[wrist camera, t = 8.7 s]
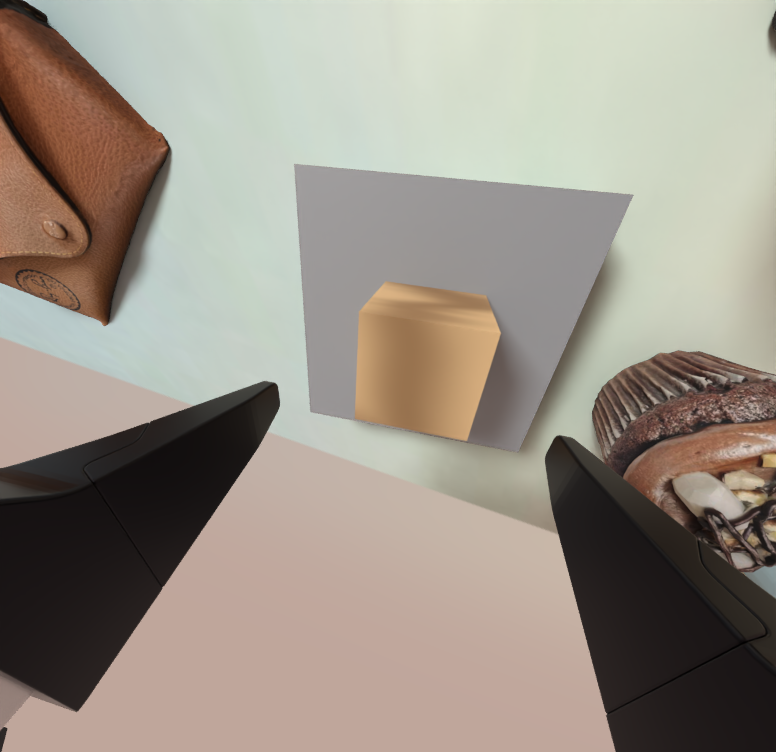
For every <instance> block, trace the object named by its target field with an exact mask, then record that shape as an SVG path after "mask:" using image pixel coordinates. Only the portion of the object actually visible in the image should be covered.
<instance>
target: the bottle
mask: <svg viewBox="0 0 776 752" xmlns="http://www.w3.org/2000/svg"><path fill="white" fill-rule="evenodd" d="M743 573H744V574H745V575H746V576H747V577H748V578H749V579H750V580H752V581H753V582H754V583H756V584H757V585H758V586H760V587H761V588H762V589H764V590H765V591H767V592H768V593H769V594H771V595H772V596H773V597H775V598H776V566H773V567H770V568H769V567H766V566H764V567H762V568H760V569H758V570H756V571H755V572H753V573H750V572H743Z"/></svg>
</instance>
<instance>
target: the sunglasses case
mask: <svg viewBox="0 0 776 752" xmlns="http://www.w3.org/2000/svg"><path fill="white" fill-rule="evenodd" d="M169 148H170V147H169V145H168V143H167V141H166V139H165V137H164V136H163V134H162V133H160V132H158V131H156V130H155V128H154V127H152V126H150V125H149V124H148V123H147V122H146V121H145V120H144V119H143V118H142V117H141V116H140V115H139V114H138V113H137V112H136V110H134V109H133V108H132V106H131V105H130V104H129V103H128V102H127V101H126V100H125V99H124V98H123V97H122V96H121V95H120V94H119V93H118V92H117V91H116V90H115V89H114V88H113V87H112V86H111V85H110V84H109V83H108V82H107V81H106V80H105V79H104V78H103V77H102V76H101V75H100V74H99V73H98V71H97V70H95V69H94V68H93V67H92V66H91V65H90V64H89V63H88V62H87V60H86V59H85V58H83V57H82V56H81V55H80V53H79V52H77V51H76V50H75V49H74V48H73V47H72V46H71V45H70V44H69V42H68V41H67V40H66V39H65V38H64V37H63V36H61V35H60V34H59V33H58V32H57V31H56V30H54V29H53V28H52V27H51V26H49V25H48V23H47V16H46V15H45V14H44V13H42V12H41V11H39V10H38V9H36V8H35V7H33V6H31V5H29V4H28V3H27V2H25V1H23V0H0V283H2V284H5V285H8V286H10V287H13V288H16V289H18V290H21V291H24V292H26V293H29V294H31V295H34V296H36V297H39V298H42V299H44V300H47V301H49V302H52V303H55V304H57V305H59V306H62V307H65V308H67V309H70V310H72V311H75V312H78V313H81V314H83V315H86V316H88V317H92V318H95V319H97V320H99V321H100V322H102V325H103V326H106V325H108V322H109V319H110V310H111V302H112V298H113V293H114V290H115V286H116V283H117V279H118V275H119V273H120V270H121V267H122V263H123V260H124V258H125V254H126V251H127V249H128V245H129V243H130V239H131V237H132V234H133V231H134V229H135V226H136V223H137V221H138V217H139V215H140V212H141V210H142V207H143V204H144V201H145V198H146V196H147V193H148V191H149V190H150V188H151V186H152V183H153V180H154V179H155V176H156V174H157V172H158V170H159V169H160V168H161V167H162V166H163V164H164V162H165V160H166V157H167V154H168V151H169Z"/></svg>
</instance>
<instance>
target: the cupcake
mask: <svg viewBox="0 0 776 752" xmlns="http://www.w3.org/2000/svg"><path fill="white" fill-rule="evenodd" d="M592 417H593V422H594V426H595V430H596V434H597V438H598V441H599V443H600V446H601V450H602V455H603V459H604V461H605V464H606V465H607V466H608V467H610V468H611V469H612V470H613V471H615V472H616V473H617V474H618V475H620V476H621V477H622V478H623V479H625V480H626V481H627V482H628V483H630V484H631V485H632V486H633V487H635V488H636V489H637V490H638V491H640V492H641V493H642V494H643V495H645V496H646V497H647V498H648V499H650V500H651V501H652V502H653V503H655V504H656V505H657V506H658V507H660V508H661V509H662V510H663V511H665V512H666V513H667V514H668V515H670V516H671V517H672V518H673V519H675V520H676V521H677V522H678V523H680V524H681V525H682V526H683V527H685V528H686V529H687V530H688V531H690V532H691V533H692V534H693V535H695V536H696V537H697V540H701V541H702V542H703V543H705V544H706V545H707V546H708V547H710V548H711V549H712V550H713V551H715V552H716V553H717V554H718V555H720V556H721V557H722V558H723V559H725V560H726V561H727V562H729V563H730V564H731V565H732V566H734V567H735V568H736V569H738V570H739V571H740V572H750V573H753V572H755V571H756V570H758V569H760V568H762V567H764V566H766V567H769V568H770V567H773V566H776V375H774V374H770V373H766V372H762V371H759V370H755V369H752V368H748V367H745V366H742V365H739V364H736V363H733V362H730V361H727V360H724V359H721V358H718V357H715V356H712V355H709V354H706V353H703V352H700V351H698V352H684V351H679V350H678V351H675V352H672V353H669V354H668V353H659V354H657V355H656V356H654V357H653V358H651V359H649V360H647V361H644V362H641V363H638V364H635V365H633V366H630V367H628V368H626V369H624V370H623V371H621V372H620V373H618V374H617V375H616V376H615V377H614V378H613V379H611V380H609V381H608V382H607V384H606V385H604V386H603V387H602V389H601V391H600V392H599V393H598V397H597V398H596V400H595V405H594V408H593V411H592Z"/></svg>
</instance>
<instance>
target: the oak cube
mask: <svg viewBox="0 0 776 752" xmlns="http://www.w3.org/2000/svg"><path fill="white" fill-rule="evenodd" d="M500 335H501V332H500V330H499V327H498V324H497V322H496V319H495V317H494V314H493V312H492V309H491V307H490V304H489V301H488V299H487V296H486V295H481V294H474V293H466V292H459V291H452V290H445V289H438V288H431V287H423V286H416V285H409V284H402V283H395V282H388V281H386V282H385V283H384V284H383V285H382V286H381V287H380V288H379V290H378V291H377V292H376V293H375V294H374V295H373V296H372V297H371V299H370V300H369V301H368V302H367V303H366V304H365V305H364V306H363V308H362V309H361V310H360V311H359V325H358V350H357V375H356V399H355V419H358V420H363V421H368V422H373V423H378V424H383V425H388V426H393V427H398V428H403V429H408V430H413V431H418V432H423V433H429V434H434V435H439V436H444V437H449V438H454V439H459V440H464V441H467V439H468V436H469V433H470V430H471V427H472V423H473V420H474V417H475V414H476V411H477V408H478V404H479V401H480V398H481V395H482V392H483V389H484V385H485V382H486V379H487V376H488V373H489V370H490V366H491V363H492V360H493V357H494V354H495V351H496V347H497V344H498V341H499V338H500Z"/></svg>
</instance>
